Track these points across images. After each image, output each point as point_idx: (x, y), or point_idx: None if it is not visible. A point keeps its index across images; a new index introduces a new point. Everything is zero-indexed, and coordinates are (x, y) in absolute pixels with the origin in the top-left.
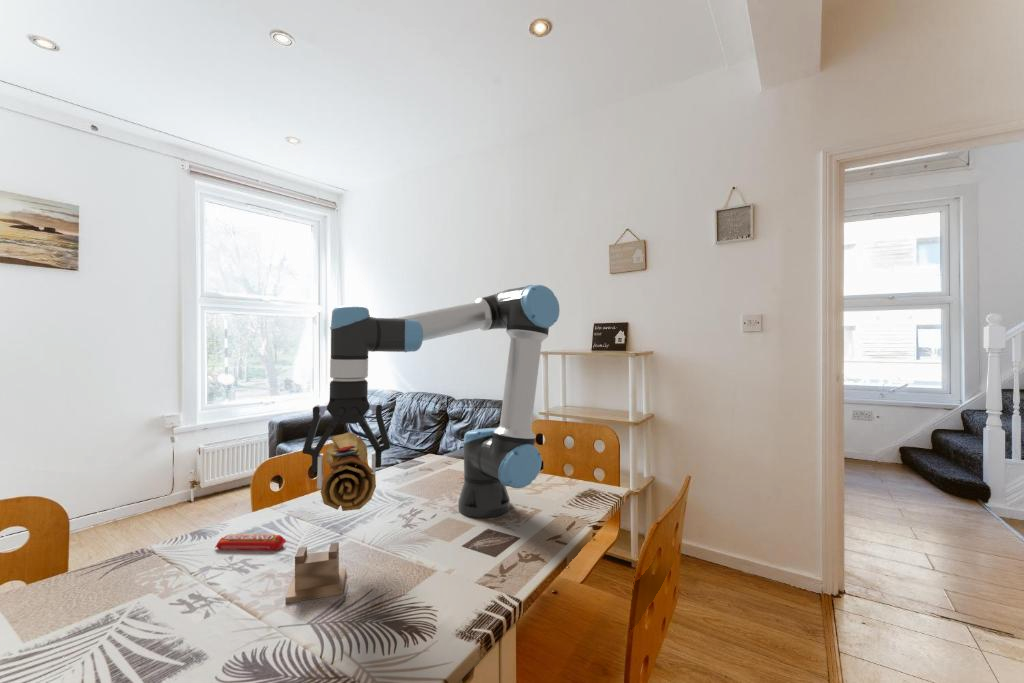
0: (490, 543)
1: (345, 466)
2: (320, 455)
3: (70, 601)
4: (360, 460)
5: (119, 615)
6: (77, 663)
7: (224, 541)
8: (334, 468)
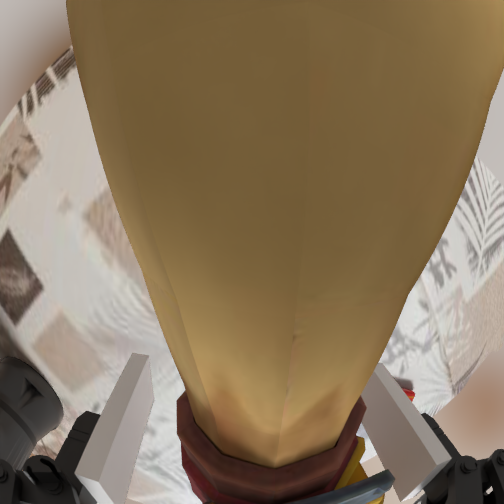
0: (10, 275)
1: None
2: (427, 480)
3: (500, 305)
4: (190, 474)
5: (482, 262)
6: (491, 186)
7: (411, 395)
8: (365, 407)
